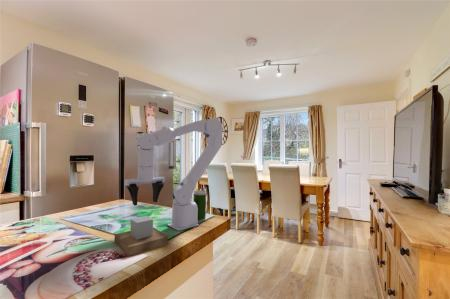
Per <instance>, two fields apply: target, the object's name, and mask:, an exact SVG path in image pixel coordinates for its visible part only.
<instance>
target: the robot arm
mask: <svg viewBox="0 0 450 299" xmlns="http://www.w3.org/2000/svg"><path fill="white" fill-rule="evenodd" d="M193 132H196V133H197V132H198V133H203V135H204V136H205V139H206V142H207V145H206V147H205V148H204V150H203V151H202V153H201V154H200V156H199V157H198V158H197V160H196V161H195V163H194V164H193V165H192V167H191V169H190V170H189V172H187V175H186V176H185V177H184V178H183V179H182V180H181V182H180V183H178V184H176V186H174V188H173V190H172V191H173V192H172V194H173V196H174V200H173V201H172V212H171V223H167V224H166V225H167V226H168V227H170V228H172V229H174V230H176V231H179V232H180V231H183V230H186V229H187V230H188V229H190V228H194V227H197V226H199V225H200V224H199V223H198V222H199V221H198V207H197V204H196V203H195V202H194V201H193V194H194V191H196V187H197V184H198V182H199V181H200V179H201V177H202V176H203V175H204V173H205V172H206V170H207V169H208V167H209V165H210V164H211V162H212V161H213V160H214V158H215V157H216V155H217V154H218V152H219V150H220V149H221V148H222V141H223V132H224V127H223V124H222V122H221V120H220V119H218V118H217V117H210V118H209V119H207V118H205V119H199V120H196V121H193V122H189V123H187V124H184V125H180V126H178V127H176V128H172V127H170V126H166V125H165V126H162V127H161V128H160V129H158V130H154V131H153V130H150V131H149V132H145V133H143V134H141V135H140V136H139V137H138V138H137V139H138V140H137V144H138V146H139V147H138V155H137V177H136V178H130V179H129V178H128V179H124V186H126V188H127V190H128V192H129V195H130V198H131V202H132V205H133V206H138V193H139V186H138V185H145V184H151V186H152V187H151V188H152V202H153V203H158V200H159V196H160V193H161V191H162V189H163V188H164V185H165V184H164V183H165V182H166V177H165V176H155V158H156V156H155V152H154V151H155V148H154V147H155V146H157V147H160V146H164V145H167V144H169V143H170V144H171V143H173V142H174V141H175V140H176V138H177V137H179V136H183V135H187V134H189V133H193Z"/></svg>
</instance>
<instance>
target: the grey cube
mask: <svg viewBox="0 0 450 299" xmlns="http://www.w3.org/2000/svg"><path fill="white" fill-rule="evenodd" d="M153 227H154V219H153V218H150V217H149V216H147V215H145V216H139V217H134V218H130V231H131V233H130V235H131V236H132V237H134V238H135V239H136V240H137V239H141V238H145V237H149V236H153Z"/></svg>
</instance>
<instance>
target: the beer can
mask: <svg viewBox="0 0 450 299" xmlns="http://www.w3.org/2000/svg"><path fill="white" fill-rule="evenodd" d="M192 201H194V202H195V203H196V204H197V207H198V222H205V220H206V216H207V214H206V213H207V212H206V210H207V209H206V208H207V192H206V190H203V189H202V190H201V189H197V190H196V189H195V190H194V192H193V194H192Z"/></svg>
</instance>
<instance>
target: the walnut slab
mask: <svg viewBox="0 0 450 299" xmlns="http://www.w3.org/2000/svg"><path fill="white" fill-rule="evenodd" d="M130 233H131V230H127V231H123V232H120V233H116V234H115V233H114V243H115V244H116V245H117V246H118V248H120V249H121V250H122V251H123V253H125V254H126V255H127V256H128V257H130V256H133V255H137V254H141V253H143V252H147V251H150V250H153V249H157V248H160V247H162V246H163V247H164V246H166V245H168V244H169V236H168V235H166V234H165V233H164V232H161V231H160V230H158V229H156V228H155V227H154V226H153V236H149V237H145V238H141V239H137V240H136V239H135V238H134V237H132V236H131V235H130Z"/></svg>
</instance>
